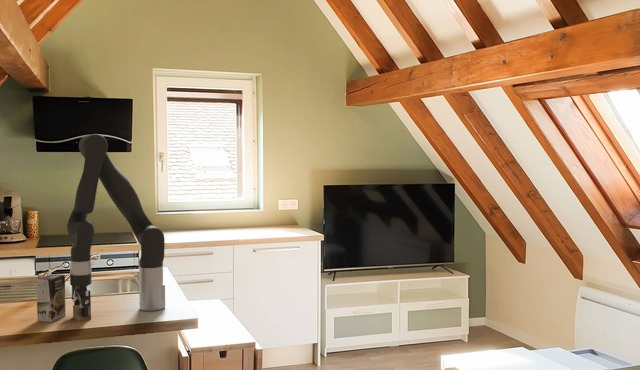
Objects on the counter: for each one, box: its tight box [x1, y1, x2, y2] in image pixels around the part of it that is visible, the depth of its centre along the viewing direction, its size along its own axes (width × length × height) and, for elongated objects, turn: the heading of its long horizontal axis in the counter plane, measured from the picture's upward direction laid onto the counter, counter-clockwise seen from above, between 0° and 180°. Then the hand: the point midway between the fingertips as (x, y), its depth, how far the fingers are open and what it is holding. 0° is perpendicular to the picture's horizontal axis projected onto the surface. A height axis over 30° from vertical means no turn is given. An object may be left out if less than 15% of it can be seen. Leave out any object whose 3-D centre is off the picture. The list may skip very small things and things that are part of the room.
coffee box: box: [36, 273, 66, 323], centre depth 245 cm, size 9×6×16 cm
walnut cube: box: [72, 304, 92, 322], centre depth 246 cm, size 5×5×5 cm
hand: (81, 314), depth 246 cm, fingers open, 8 cm apart
